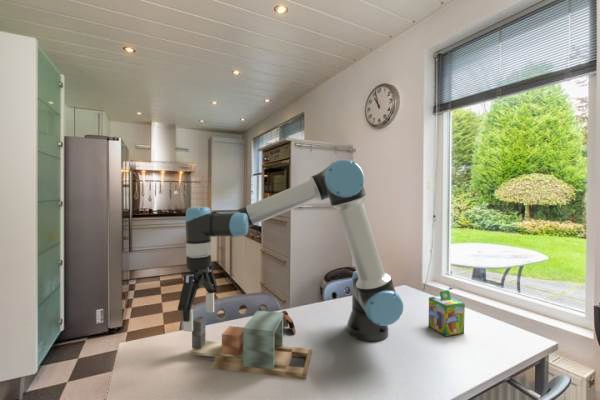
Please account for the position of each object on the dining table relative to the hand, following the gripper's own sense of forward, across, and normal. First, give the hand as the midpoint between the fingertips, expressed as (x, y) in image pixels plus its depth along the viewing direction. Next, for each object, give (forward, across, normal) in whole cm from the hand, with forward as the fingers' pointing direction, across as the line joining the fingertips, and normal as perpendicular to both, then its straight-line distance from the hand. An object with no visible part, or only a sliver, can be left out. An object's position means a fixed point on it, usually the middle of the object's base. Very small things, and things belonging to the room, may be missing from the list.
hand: (200, 320), depth 91 cm
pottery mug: (+12, -19, +23) cm, 32 cm away
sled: (+9, 0, +8) cm, 12 cm away
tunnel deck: (+11, 0, +21) cm, 24 cm away
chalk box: (+13, -32, +84) cm, 91 cm away
